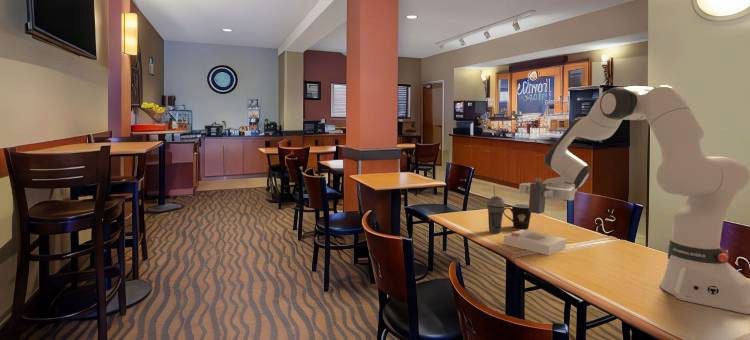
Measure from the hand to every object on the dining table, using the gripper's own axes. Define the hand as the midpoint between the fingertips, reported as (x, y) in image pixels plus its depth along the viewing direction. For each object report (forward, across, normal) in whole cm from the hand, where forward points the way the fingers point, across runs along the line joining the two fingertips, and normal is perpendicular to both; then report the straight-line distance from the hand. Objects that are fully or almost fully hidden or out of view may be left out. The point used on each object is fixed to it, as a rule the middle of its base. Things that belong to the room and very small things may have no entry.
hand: (536, 193), depth 163 cm
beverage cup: (-7, -21, +21) cm, 30 cm away
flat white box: (-1, 0, +21) cm, 21 cm away
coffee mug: (-23, -19, +21) cm, 36 cm away
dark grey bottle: (-1, 0, +8) cm, 8 cm away
